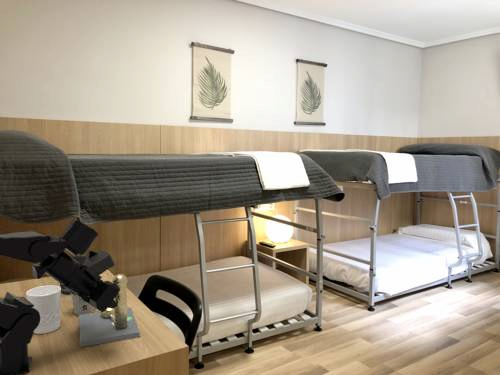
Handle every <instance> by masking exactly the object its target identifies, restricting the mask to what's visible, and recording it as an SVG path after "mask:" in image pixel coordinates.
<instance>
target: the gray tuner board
mask: <svg viewBox="0 0 500 375" xmlns="http://www.w3.org/2000/svg"><path fill="white" fill-rule="evenodd" d="M78 316H79V317H78V318H79V321H78V322H79V347H80V348H81V347H87V346H92V345H99V344H105V343H111V342H118V341H123V340H129V339H136V338H140V337H141V336H140V335H141V332H140V330H139V327H138V323H137V320H136V319H135V315H134V311H133V309H132V307H127V327H125V328H116V327H115V322H114V321H113V320H112V319H111V318H103V317H101V311H97V312H90V313H88V314H81V315H78Z"/></svg>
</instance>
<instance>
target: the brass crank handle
mask: <svg viewBox="0 0 500 375" xmlns="http://www.w3.org/2000/svg"><path fill="white" fill-rule="evenodd" d="M128 281H129V280H128V278H127V276H126V275H125V274H123V273H118V274H116V275H115V276H113V278H112V283H114V284H115V285H117V286H118V287H119V288H120V291H119V293H118V294H117V296H116V297H115V298H114V300H115V302H116V303H117V306H116V308H107V309H106V310H105V311H104V312H101V311H100V312H101V317H103V318H111V319H112V320H113V321H114V322H115V327H116V328H125V327H127V308H128V301H127V300H128V296H127V294H128V293H127V291H128V290H127V284H128V283H129V282H128Z"/></svg>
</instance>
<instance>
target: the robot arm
mask: <svg viewBox="0 0 500 375" xmlns="http://www.w3.org/2000/svg"><path fill="white" fill-rule="evenodd" d="M99 236H100V234H99V233H98V232H97V231H96V230H95V229H94V228H93V227H91V226H88V224H85V223H84V222H82V221H81V220H80V219H77V218H73V219H72V220H71V221H70V222H69V224H68V225H67V227H66V228H65V229H64V230H63V232H61V234H60V235H59V236H56V235H43V234H40V233H38V232H36V231H18V232H11V233H5V234H2V233H1V234H0V256H4V257H9V258H12V259H15V260H20V261H23V262H28V263H33V264H31V268H32V270H31V271H32V274H31V275H32V276H33V277H34V278H36V279H37V280H39V279H41V278H43V276H44V275H45V274H46V275H48V277H51V279H54V280H55V281H57V282H58V284H59V285H60V284H62V285H63V286H65V289H66V290H67V291H68V292H70V293H71V294H73V295H78V296H79V297H81V298H82V300H83V301H85V302H87V303H88V304H90V305H92V308H95V309H96V310H98V312H104V311H105V310H106V309H107V308H116V306H117V303H116V302H115V300H114V298H115V297H116V296H117V294H118V293H119V291H120V288H119V287H118V286H117V285H115V284H114V283H112V282H111V281H110V280H105V281H103V280H102V277H103V276H101V274H103V273H105V272H106V271H108V270H109V269H111V268H113V267H115V265H116V263H115V261H114V259H113V257H112V255H111V253H110V252H107V251H105V250H98V252H97V251H95V250H92V249H90V250H88V249H89V248H90V247H91V246H92V245H93V243H94V242H95V241H96V240H97V238H98V237H99ZM65 250H66V251H67V252H68V253H70V254H71V255H73V256H70V255H69V254H68V253H66V252H65ZM87 250H88V251H87ZM84 254H85V256H86V260H85V261H86V262H85V263H83V264H81V263H80V262H77V261H76V260H74V259H73V258H72V257H74V256H84ZM71 294H70V295H71ZM33 306H34V305H33V304H32V303H31V302H30V301H29V300H27V297H25V296H17V295H14V294H13V293H11V292H9V291H6V293H5V296H4V297H0V375H20V374H26V373H29V372H30V371H31V366H32V360H33V356H31V355H29V345H28V344H31V341H32V338H33V335H34V334H35V333H34V330H35V329H36V328H37V327H38V325H39V323H40V314H39V312H38V311H37V310H36V309H35V308H34V307H33Z"/></svg>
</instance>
